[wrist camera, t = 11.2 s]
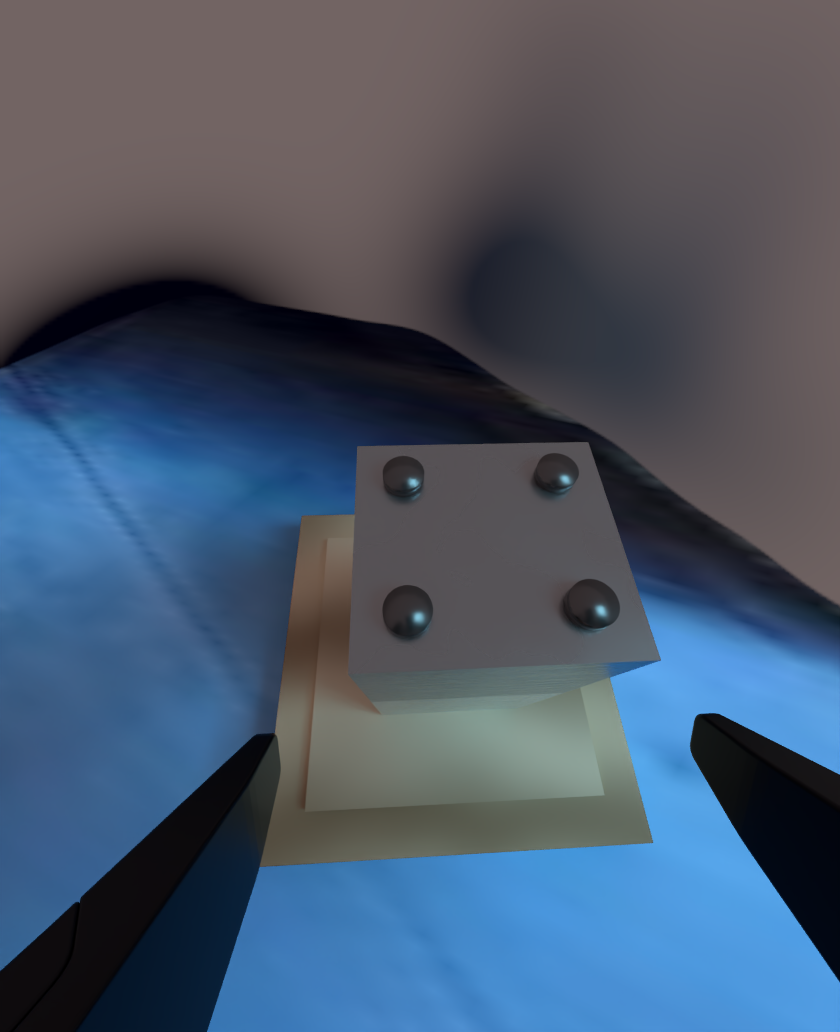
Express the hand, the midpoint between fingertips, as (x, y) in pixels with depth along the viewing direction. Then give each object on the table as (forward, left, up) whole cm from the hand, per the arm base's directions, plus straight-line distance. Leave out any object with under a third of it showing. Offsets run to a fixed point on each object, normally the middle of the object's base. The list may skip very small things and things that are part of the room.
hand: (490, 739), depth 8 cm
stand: (+4, +1, -10) cm, 11 cm away
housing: (+4, +1, -8) cm, 9 cm away
